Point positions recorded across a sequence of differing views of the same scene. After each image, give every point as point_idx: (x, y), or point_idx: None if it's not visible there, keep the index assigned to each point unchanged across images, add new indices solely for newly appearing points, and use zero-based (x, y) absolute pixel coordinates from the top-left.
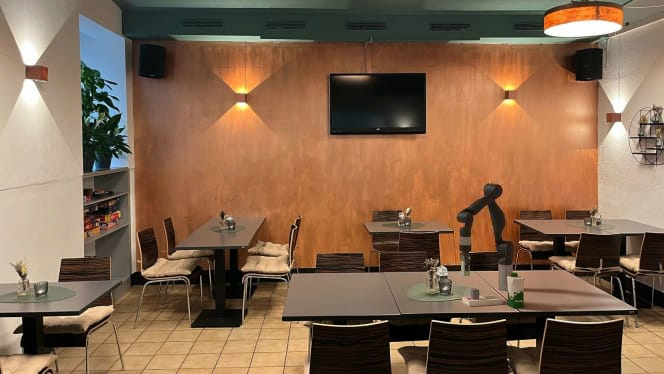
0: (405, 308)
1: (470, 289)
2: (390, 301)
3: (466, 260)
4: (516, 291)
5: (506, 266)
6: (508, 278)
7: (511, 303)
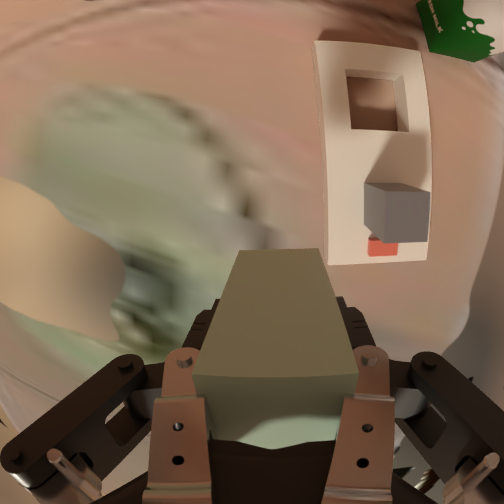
0: None
1: (382, 241)
2: None
3: (432, 463)
4: None
5: None
6: None
7: (476, 59)
